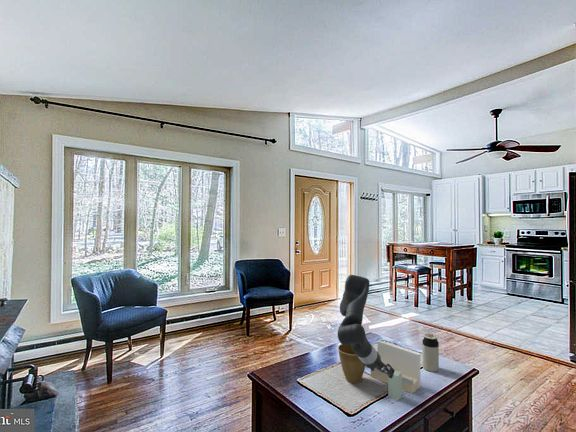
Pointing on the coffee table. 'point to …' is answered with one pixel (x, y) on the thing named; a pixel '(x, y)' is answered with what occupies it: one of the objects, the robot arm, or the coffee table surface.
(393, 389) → the pale green block
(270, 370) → the coffee table surface
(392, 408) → the coffee table surface
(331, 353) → the coffee table surface
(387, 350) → the white display stand
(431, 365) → the travel mug
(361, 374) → the plant pot
